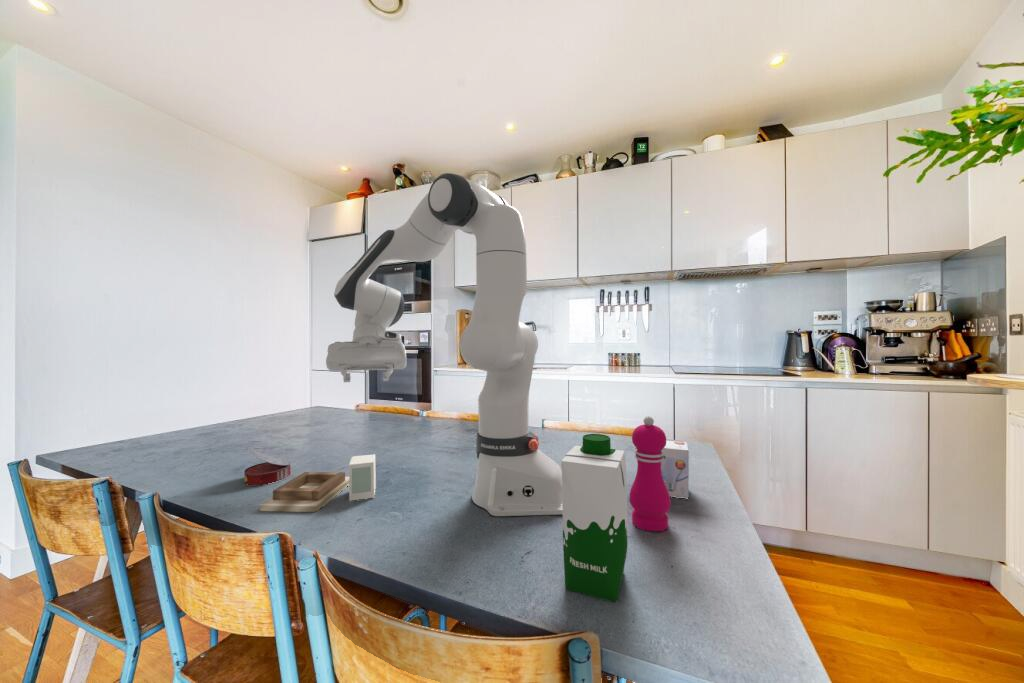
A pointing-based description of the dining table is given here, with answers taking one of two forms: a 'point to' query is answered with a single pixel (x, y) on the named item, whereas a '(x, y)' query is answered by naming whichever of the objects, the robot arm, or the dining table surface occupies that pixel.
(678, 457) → the light bulb box
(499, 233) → the robot arm
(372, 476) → the picture block
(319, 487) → the display base
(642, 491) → the pepper mill
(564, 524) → the milk carton
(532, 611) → the dining table surface
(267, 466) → the canned food
